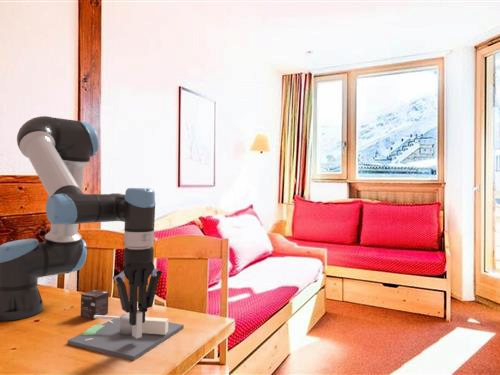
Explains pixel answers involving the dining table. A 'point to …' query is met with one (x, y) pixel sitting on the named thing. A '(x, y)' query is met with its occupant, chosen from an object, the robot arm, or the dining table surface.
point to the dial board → (120, 340)
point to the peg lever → (148, 326)
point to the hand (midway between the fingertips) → (136, 336)
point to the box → (94, 303)
